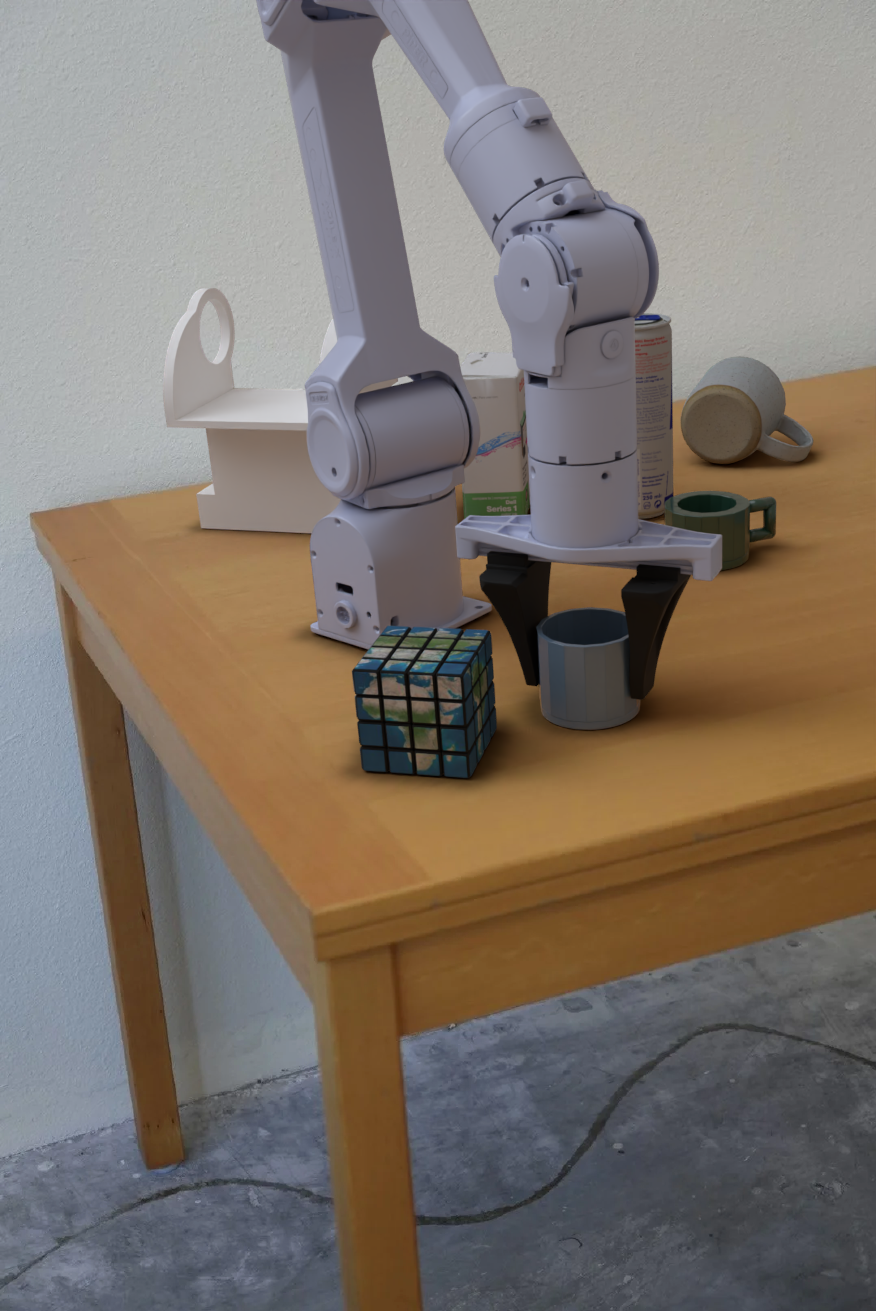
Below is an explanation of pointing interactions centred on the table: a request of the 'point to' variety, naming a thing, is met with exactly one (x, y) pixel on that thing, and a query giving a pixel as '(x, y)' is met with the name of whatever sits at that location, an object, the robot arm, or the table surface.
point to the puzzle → (425, 701)
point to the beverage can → (654, 413)
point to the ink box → (497, 437)
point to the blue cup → (585, 668)
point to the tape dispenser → (245, 432)
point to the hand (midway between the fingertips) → (590, 685)
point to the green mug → (723, 520)
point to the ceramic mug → (741, 414)
